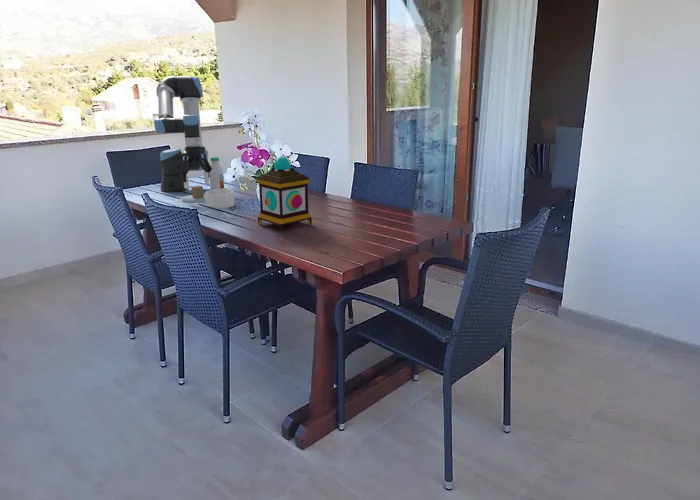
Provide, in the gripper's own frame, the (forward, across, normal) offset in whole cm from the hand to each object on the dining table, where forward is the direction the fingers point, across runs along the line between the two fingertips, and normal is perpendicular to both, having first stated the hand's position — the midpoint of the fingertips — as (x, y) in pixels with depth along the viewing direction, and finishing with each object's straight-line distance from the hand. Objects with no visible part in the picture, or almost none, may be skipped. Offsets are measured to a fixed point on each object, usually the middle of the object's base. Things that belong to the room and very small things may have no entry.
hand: (197, 186), depth 267 cm
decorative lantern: (+9, -11, -70) cm, 71 cm away
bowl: (+8, -1, -18) cm, 19 cm away
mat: (+8, 0, 0) cm, 8 cm away
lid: (+7, 0, 0) cm, 7 cm away
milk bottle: (+8, +20, +7) cm, 23 cm away
